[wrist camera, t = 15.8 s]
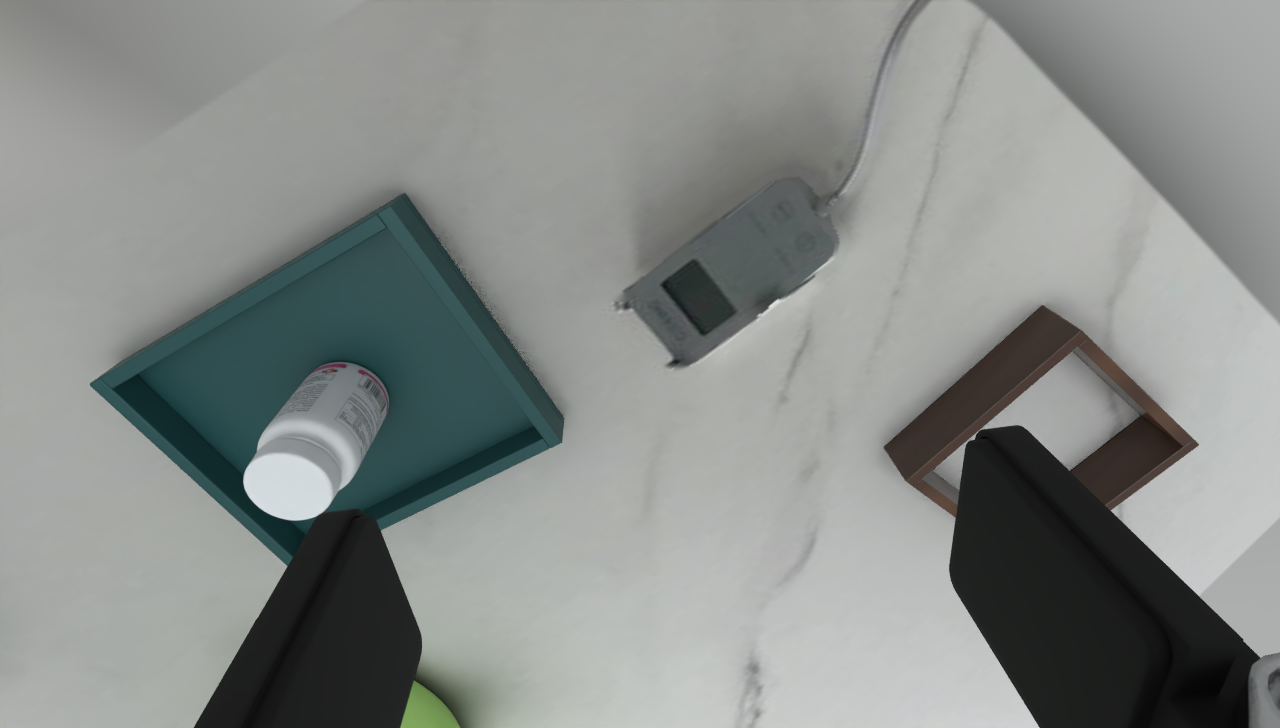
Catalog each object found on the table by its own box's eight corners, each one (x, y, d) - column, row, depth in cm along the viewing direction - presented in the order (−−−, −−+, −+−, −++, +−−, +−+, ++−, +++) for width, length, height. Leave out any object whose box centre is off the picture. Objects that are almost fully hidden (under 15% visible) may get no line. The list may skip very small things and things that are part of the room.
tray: (404, 192, 34) (390, 205, 31) (564, 418, 40) (562, 442, 38) (120, 362, 37) (88, 384, 35) (310, 543, 44) (293, 572, 41)
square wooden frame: (883, 447, 42) (905, 481, 39) (1042, 304, 38) (1081, 330, 35) (1000, 534, 46) (1028, 571, 43) (1156, 414, 42) (1200, 445, 39)
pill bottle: (300, 418, 39) (228, 514, 31) (311, 349, 37) (236, 433, 29) (383, 439, 40) (332, 537, 32) (398, 373, 38) (347, 461, 30)
